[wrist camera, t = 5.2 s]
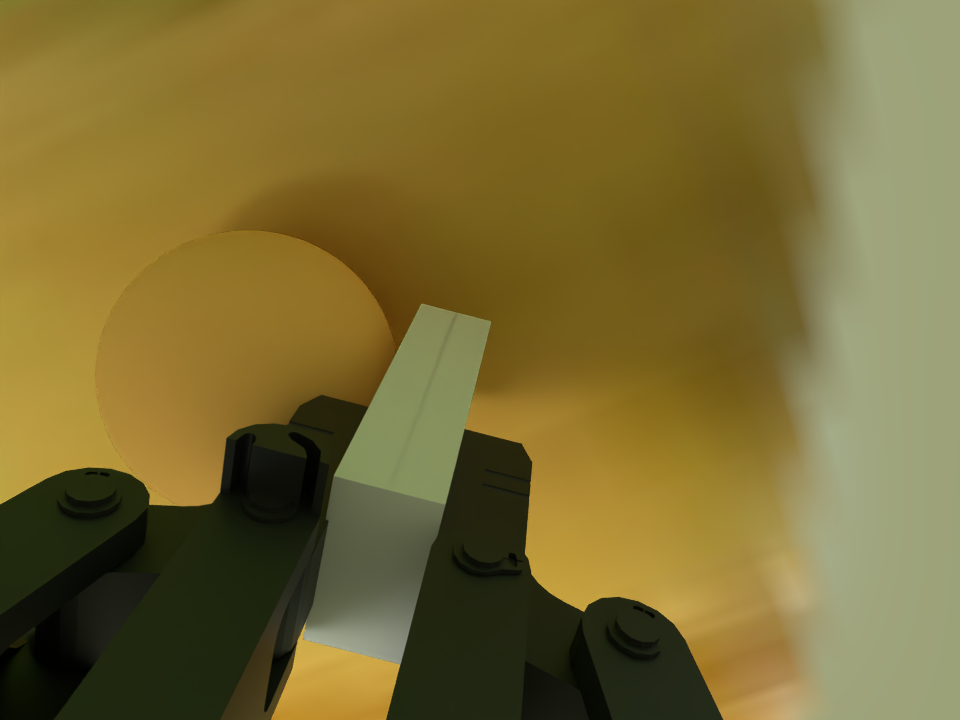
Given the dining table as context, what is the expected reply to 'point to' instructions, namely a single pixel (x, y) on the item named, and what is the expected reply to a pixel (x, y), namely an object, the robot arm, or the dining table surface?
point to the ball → (231, 352)
